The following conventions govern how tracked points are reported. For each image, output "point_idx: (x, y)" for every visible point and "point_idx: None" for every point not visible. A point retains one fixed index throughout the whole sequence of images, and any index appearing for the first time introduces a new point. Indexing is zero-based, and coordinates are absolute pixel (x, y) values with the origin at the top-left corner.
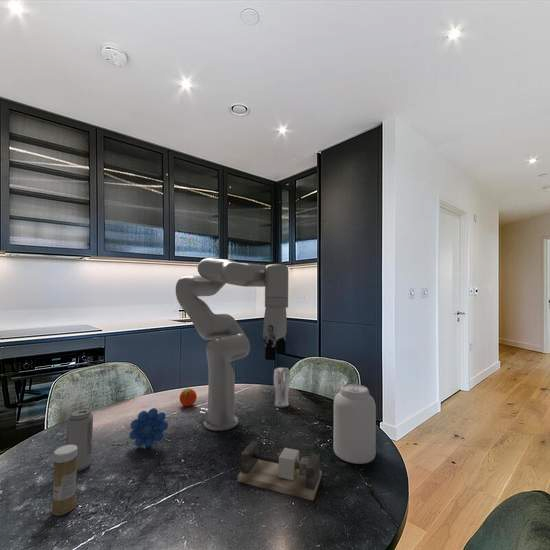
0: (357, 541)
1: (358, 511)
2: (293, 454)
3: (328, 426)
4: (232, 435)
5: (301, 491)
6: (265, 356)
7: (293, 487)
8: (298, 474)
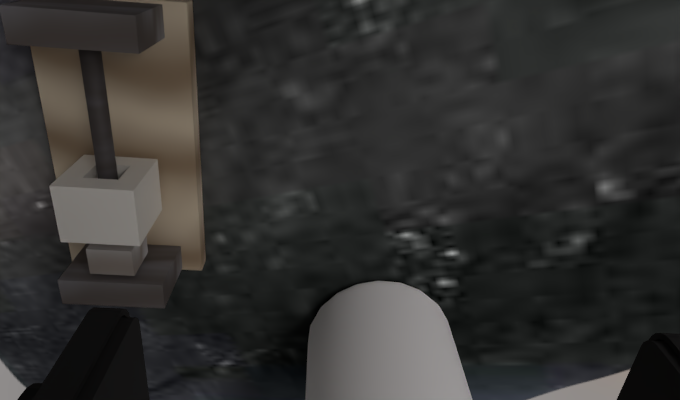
0: (4, 351)
1: None
2: (100, 232)
3: (575, 241)
4: None
5: None
6: (76, 338)
7: None
8: None
